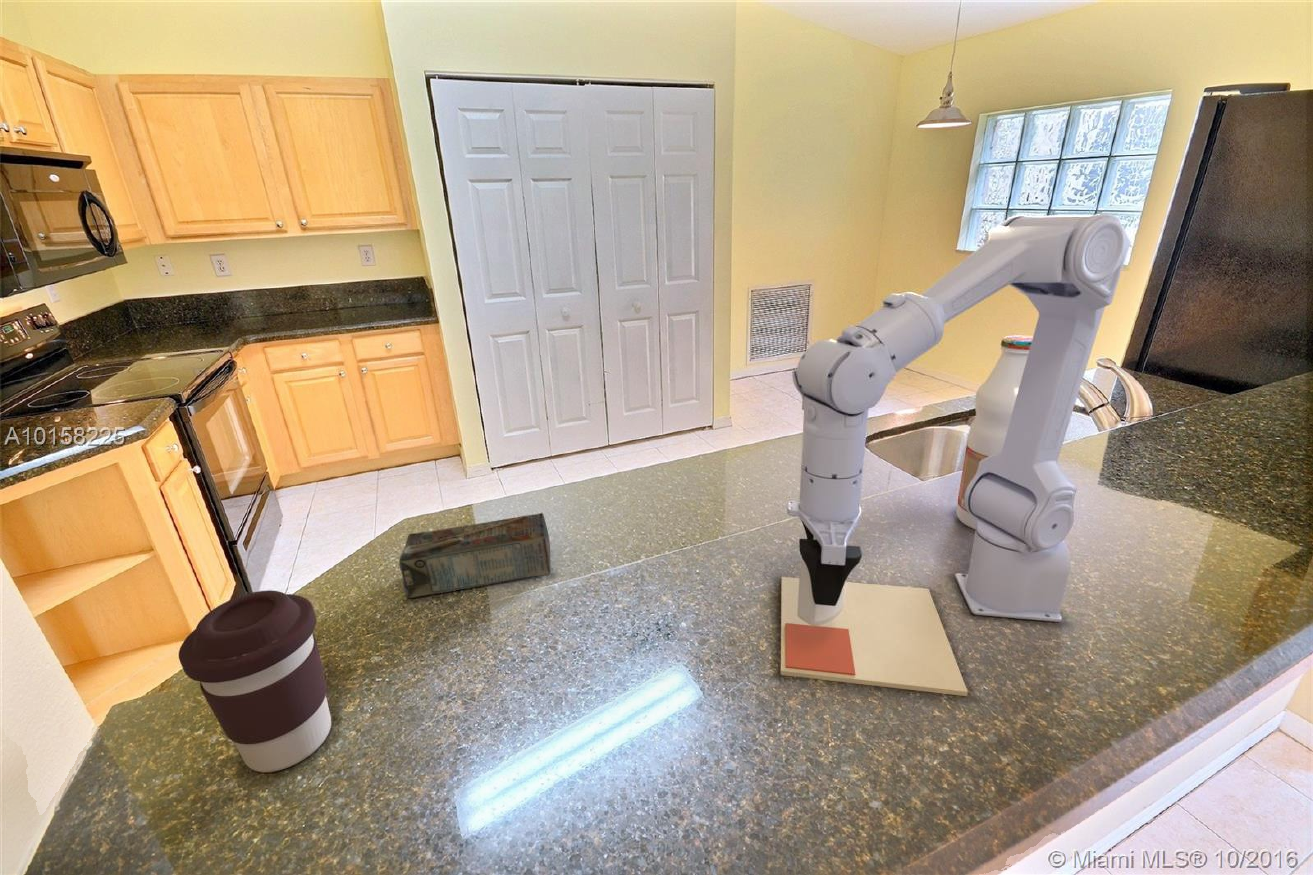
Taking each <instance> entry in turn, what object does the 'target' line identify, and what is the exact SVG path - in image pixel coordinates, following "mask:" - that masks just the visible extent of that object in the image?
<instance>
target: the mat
mask: <svg viewBox="0 0 1313 875" xmlns="http://www.w3.org/2000/svg"><path fill="white" fill-rule="evenodd" d="M780 579H781V580H780V581H781V582H780V584H781V585H780V589H781V590H780V592H781V593H780V675H781V676H787V677H793V678H794V677H796V678H803V679H812V680H822V681H831V682H839V683H847V684H857V685H864V686H872V687H873V686H874V687H883V688H890V689H891V688H892V689H899V690H908V691H917V692H918V691H919V692H924V693H925V692H926V693H934V694H935V693H937V694H944V695H951V696H953V695H954V696H959V697H960V696H961V697H968V693H969V692H968V689H967V686H966V683H965V680H964V678H963V676H962V674H961V671H960V668H959V665H958V663H957V660H956V657H955V655H954V652H953V649H952V646H951V644H950V641H949V639H948V636H947V634H946V631H945V628H944V625H943V623H942V620H941V618H940V616H939V613H938V610H937V607H936V605H935V603H934V600H933V597H932V594H931V591H930V589H929V588H924V587H913V586H912V587H911V586H900V585H888V584H875V583H863V582H851V581H846V588H845V600H844V606H843V609H842V611H841V612H840V614H839V615H838V616H837V617H836V618H835V619H833V620H832V621H830V622H827V623H825V624H822V625H817V626H813V625H810V624H808V623H807V622H805V621H803V620H802V619H800V618H799V617H798V594H799V577H788V576H781V578H780Z"/></svg>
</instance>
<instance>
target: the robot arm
mask: <svg viewBox="0 0 1313 875" xmlns="http://www.w3.org/2000/svg"><path fill="white" fill-rule="evenodd" d="M1130 246H1131V239H1130V238H1129V236H1128V234H1127V232H1126V230H1125V227H1123V224H1122V222H1121V221H1120V219H1119V218H1118V217H1117V216H1116V215H1114V214H1112V213H1106V212H1103V213H1095V214H1093V215H1047V216H1046V215H1041V216H1039V215H1038V216H1034V215H1033V216H1030V215H1027V214H1018V215H1013V216H1010V217H1008V218H1007V219H1006V220H1004V221H1003V222H1002V223H1001V224H1000V225H999V226H996V227H994V228H992V229H990V230H988V232H987V233H986V236H985V238H984V242H983V244H982V245H981V246H980V247H978V248H977V249H976V250H975V251H973V252H972V253H971V254H970V255H969V256H967V257H966V258H964V260H962V261H961V262H960V263H959V264H957V265H956V266H954V268H952V269H951V270H950V271H948V272H947V273H945V275H943V276H941V278H939V280H937V281H936V282H935V283H934V284H932V285H931V286H930V287H929V288H927V289H926V290H925V291H923V292H922V293H921V294H918V293H915V292H902V293H890V295H888V296H886V297H884V299H882V301H881V302H882V306H881V307H879V308H878V309H877V310H874V312H871V314H870V315H867V316H866V317H865V318H863V319H862V320H861V321H859V322H857V323H855V325H848V326H846V327H845V328H844V329H842V330H841V334H840V335H839V336H838V337H837V338H836V340H834V339H822V340H819V341H817V342H814V343H813V344H811V346H809V347H808V348H807V349H806V350H805V351H804V352H803V353H802V355H801V357H800V359H799V361H798V364H797V367H796V369H793V370H792V371H791V375H792V376H791V377H792V382H793V385H794V387H795V389H796V390H797V392H798V393H799V395H800V396H801V410H802V411H803V419H802V420H803V423H802V440H801V441H802V443H801V462H800V481H799V483H800V484H799V500H790V501H787V504H786V505H787V506H786V511H787V512H786V514H787V515H788V516H791V517H798V518H799V519H800V521H801V523H802V526H803V528H804V531H805V532H804V533H805V536H806V538H799V540H798V544H799V545H798V546H799V547H798V548H799V553H800V556H801V557H802V559H803V560H804V562H805V564H806V566H807V568H808V571H809V575H810V580H811V588H812V595H813V600H814V603H815V604H817V605H828V606H836V604H837V602H838V600H839V597H840V595H841V592H842V589H843V586H844V583H845V581H846V582H847V579H848V577H849V575H851V573H852V571H853V570H854V568H856V567H857V566H858V565H859V564H860V562H861V560H862V556H863V553H862V548H861V546H860V545H847V544H848V542H849V540H850V539H851V537H852V535H853V533H854V532H855V530H856V528H857V527H858V525H859V523H860V521H861V518H862V508H861V496H862V495H861V494H862V487H863V486H862V485H863V474H864V462H865V451H866V442H867V441H866V440H867V431H868V430H867V429H868V419H869V411H870V410H869V409H872V408H874V407H875V406H877V405H878V403H879V402H880V400H881V399H882V397H883V395H884V394H885V391H886V389H887V387H888V385H889V384H890V383H891V382H892V381H893V380H894V377H895V376H897V375H896V374H897V373H898V372H900V371H902V370H903V369H904V368H906V367H907V366H908V365H910V364H911V363H913V362H914V361H916V360H917V359H918V358H919V357H921V356H922V355H924V354H926V353H927V352H929V351H930V350H931V349H932V348H934V347H936V346H937V345H938V344H939V343H940V342H941V340H942V339H943V335H944V330H945V324H947V323H948V322H950V321H952V320H953V319H955V318H956V317H958V316H960V315H961V314H964V313H965V312H966V311H968V310H970V309H971V308H973V307H974V306H977V305H978V304H979V303H981V302H983V301H984V300H986V299H988V298H989V297H991V296H992V295H994V294H996V293H998V292H999V291H1001V290H1003V289H1004V288H1006V287H1008V286H1010V287H1012V288H1013V289H1015V290H1016V291H1018V292H1019V293H1021V294H1023V295H1024V296H1026V297H1027V298H1028V300H1029V302H1031V304H1032V305H1033V307H1034V308H1035V309H1036V311H1037V313H1038V318H1037V321H1036V324H1035V328H1034V332H1033V335H1032V336H1033V339H1032V343H1031V346H1030V350H1029V354H1028V357H1027V361H1026V365H1025V368H1024V372H1023V375H1022V379H1021V383H1020V386H1019V390H1018V394H1017V397H1016V401H1015V405H1014V408H1013V412H1012V416H1011V419H1010V423H1009V426H1008V430H1007V434H1006V437H1005V441H1004V445H1003V448H1002V452H1001V453H998V454H995V455H993V456H990V457H987V458H985V459H983V460H981V461H980V462H979V466H978V469H977V472H976V474H975V476H974V478H973V479H972V481H971V482H970V483H969V485H968V487H967V489H966V492H965V497H964V504H965V508H966V510H967V511H968V512H969V513H970V514H971V515H973V516H972V522H971V524H973V525H974V526H975V527H976V530H975V532H974V537H973V542H972V549H971V553H970V560H969V566H968V571H967V573H961V572H960V573H959V572H957V573H955V575H954V579H955V580H956V582H957V584H958V586H959V588H960V591H961V594H962V595H963V597H964V599H965V601H966V604H967V605H968V608H969V610H970V612H971V613H972V614H973V615H976V616H987V617H997V618H1009V619H1021V620H1032V621H1044V622H1055V623H1061V622H1062V620H1063V617H1062V615H1061V608H1062V605H1063V601H1064V597H1065V593H1066V589H1067V585H1068V581H1069V577H1070V574H1071V573H1070V572H1071V555H1070V551H1069V548H1068V546H1067V543H1066V542H1065V539H1066V538H1067V536H1068V535H1069V533H1070V532H1071V530H1072V527H1073V526H1074V520H1075V511H1074V510H1075V509H1074V502H1075V497H1076V494H1077V492H1078V489H1077V486H1076V485H1075V483H1074V482H1073V481H1072V479H1071V478H1070V477H1069V476H1068V474H1067V473H1066V472H1065V470H1064V469H1063V467H1061V465H1060V464H1059V462H1058V460H1059V457H1060V454H1061V451H1062V447H1063V444H1064V440H1065V437H1066V434H1067V431H1068V427H1069V425H1070V421H1071V418H1072V415H1073V411H1074V408H1075V405H1076V402H1077V398H1078V395H1079V392H1080V389H1081V386H1082V382H1083V379H1084V376H1085V373H1086V371H1087V370H1086V369H1087V366H1088V363H1089V360H1090V357H1091V354H1092V350H1093V347H1094V343H1095V341H1096V338H1097V334H1098V331H1099V327H1100V324H1101V320H1102V318H1103V315H1104V312H1105V309H1106V307H1108V306H1110V305H1111V304H1112V303H1113V300H1114V296H1115V293H1116V291H1117V287H1118V284H1119V281H1120V278H1121V276H1122V275H1121V274H1122V271H1123V268H1124V265H1125V262H1126V259H1127V255H1128V252H1129V248H1130ZM814 537H815V538H816V539H817V540H813V539H814Z"/></svg>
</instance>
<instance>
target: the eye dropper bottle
mask: <svg viewBox="0 0 1313 875" xmlns="http://www.w3.org/2000/svg"><path fill="white" fill-rule="evenodd" d="M813 540H817V539H816V538H815V537H814V539H813ZM799 562H800V563H799V576H798V578H799V594H798V617H799V618H800V619H802V620H803V621H805V622H807V623H808V624H810V625H813V626H817V625H822V624H825V623H827V622H830V621H832V620H833V619H835V618H836V617H837V616H838V615H839V614H840V612H841V611H842V609H843V606H844V600H845V588H846V582H847V580H846V581H845V583H844V586H843V589H842V592H841V595H840V597H839V600H838V602H837V604H836V606H828V605H817V604H815V603H814V600H813V595H812V588H811V580H810V575H809V571H808V568H807V566H806V564H805V562H804V560H803V559H802V556H801V559H800V561H799Z"/></svg>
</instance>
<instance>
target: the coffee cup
mask: <svg viewBox="0 0 1313 875" xmlns="http://www.w3.org/2000/svg"><path fill="white" fill-rule="evenodd" d="M316 626H317V615H316V612H315V609H314V606H313V604H312V602H311V601H310V600H309V599H308V598H306V597H304V596H302V595H298V594H293V593H285V592H282V591H279V590H272V589H270V590H259V591H253V592H250V593H246V594H242V595H239V596H237V597H233V598H231V599H229V600H227V601H225V602H223V603H221V604H219V605H218V606H216V607H214V608H213V609H212V610H210V611H209V612H208V613H206V614H205V615H204V616H203V617H202V618H201V620H200V621H199V622H198V623H197V625H196V627H195V629H193V631H192V632H190V633H189V634H188V635H187V636H186V638H185V639H184V641H183V643H182V644H181V645H180V647H179V650H178V660H179V662H180V665H181V668H182V670H183V672H184V673H185V675H186V676H187V677H188V678H189V679H191V680H193V681H196V682H199V687H200V690H201V693H202V695H203V696H204V698H205V700H206V702H207V703H208V704H207V705H208V706H209V708H210V709H211V711H212V712H213V715H214V717H215V718H216V720H217V722H218V723H219V725H220V727H221V729H222V730H223V733H224V735H225V736H226V737H227V738H228V740H230V741H231V742H233V744H234V746H235V747H236V750H237V751H238V753H239V755H240V757H241V759H242V760H243V762H244V764H245V765H246V766H247V767H248V768H249V769H250V770H252V771H254V772H259V773H273V772H278V771H282V770H285V769H288V768H290V767H292V766H294V765H297V764H298V763H300V762H302V761H304V760H305V759H307V758H308V757H310V756H311V755H313V753H314V752H315V751H317V749H318V748H319V747H320V746H321V745H322V744H323V743H324V742H325V741H326V739H327V737H328V735H329V734H330V731H331V727H332V715H331V711H330V708H329V703H328V698H327V693H328V692H327V691H328V690H327V689H328V688H327V687H328V686H327V681H326V677H325V672H324V668H323V663H322V658H321V654H320V649H319V644H318V640H317V638H316V635H315V634H314V631H315V629H316Z"/></svg>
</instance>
